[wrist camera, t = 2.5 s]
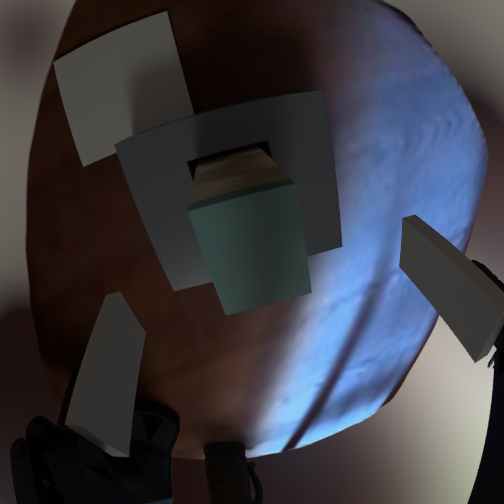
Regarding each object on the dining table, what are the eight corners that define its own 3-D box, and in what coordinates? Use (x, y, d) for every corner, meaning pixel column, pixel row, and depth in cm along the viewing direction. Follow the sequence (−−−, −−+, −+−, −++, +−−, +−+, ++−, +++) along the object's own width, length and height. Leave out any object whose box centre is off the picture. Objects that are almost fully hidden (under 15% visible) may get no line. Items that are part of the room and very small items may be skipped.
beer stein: (195, 452, 60) (205, 518, 43) (209, 439, 56) (222, 514, 39) (246, 453, 66) (260, 513, 49) (265, 440, 62) (283, 506, 45)
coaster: (85, 165, 24) (83, 166, 24) (55, 62, 18) (53, 62, 17) (197, 123, 24) (196, 124, 24) (167, 12, 18) (166, 11, 17)
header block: (178, 257, 31) (174, 291, 26) (133, 134, 23) (114, 144, 18) (320, 219, 31) (342, 246, 26) (299, 91, 23) (322, 89, 18)
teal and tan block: (217, 213, 29) (226, 315, 16) (199, 152, 25) (187, 211, 13) (265, 200, 29) (311, 292, 16) (251, 139, 25) (295, 183, 13)
